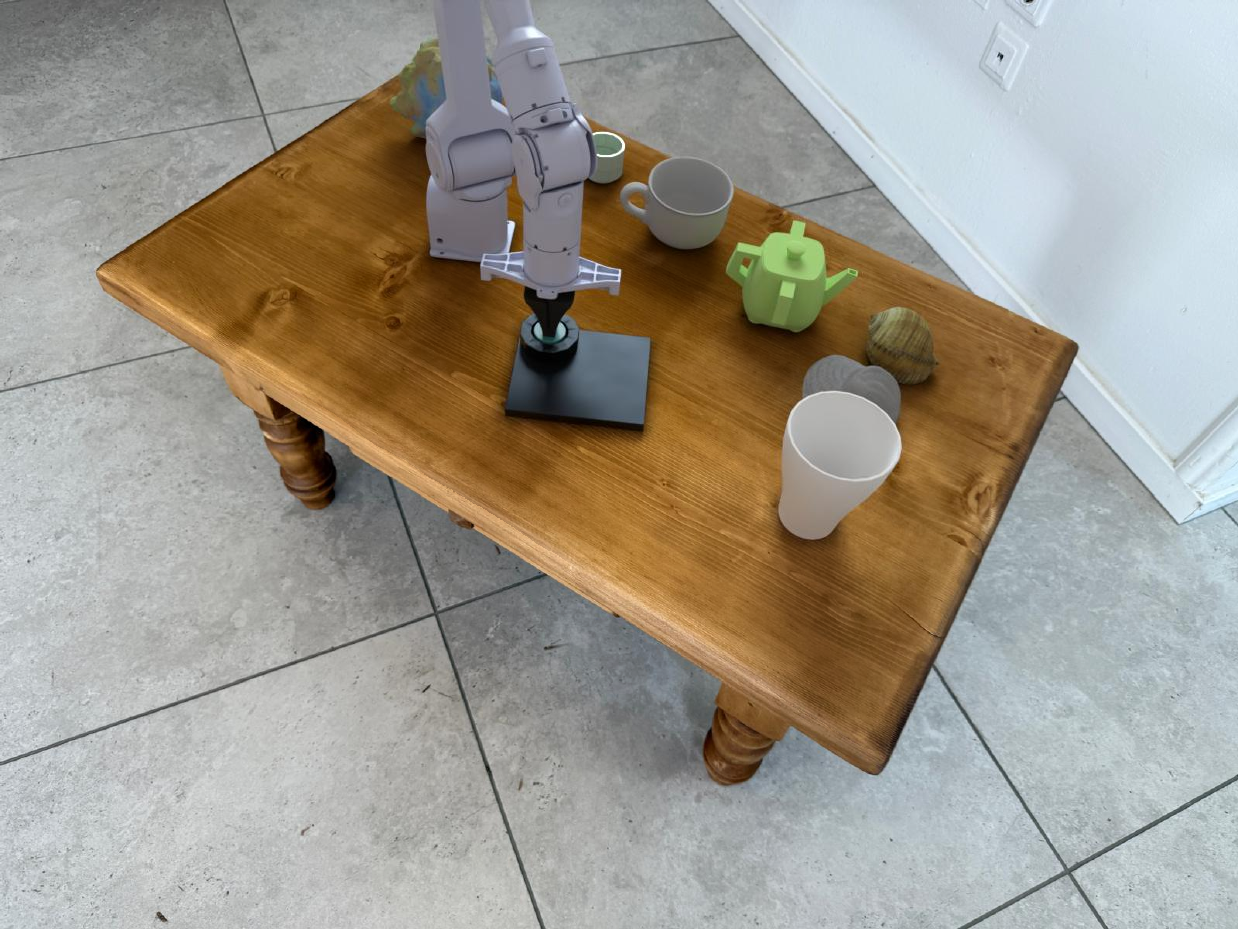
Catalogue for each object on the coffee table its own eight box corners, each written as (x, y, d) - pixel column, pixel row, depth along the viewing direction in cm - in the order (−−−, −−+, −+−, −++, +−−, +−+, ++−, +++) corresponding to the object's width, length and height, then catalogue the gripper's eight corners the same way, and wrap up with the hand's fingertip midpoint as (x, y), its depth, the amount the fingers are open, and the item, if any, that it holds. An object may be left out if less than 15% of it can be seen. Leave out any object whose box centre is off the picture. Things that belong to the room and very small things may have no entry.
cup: (831, 465, 95) (870, 382, 84) (875, 547, 89) (922, 469, 78) (741, 483, 92) (769, 400, 82) (779, 569, 87) (815, 492, 76)
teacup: (724, 213, 119) (735, 161, 112) (722, 267, 112) (733, 215, 106) (621, 200, 119) (626, 147, 112) (613, 253, 112) (618, 201, 106)
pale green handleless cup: (579, 183, 120) (581, 154, 116) (583, 158, 123) (585, 129, 120) (620, 188, 120) (623, 159, 116) (623, 162, 123) (626, 134, 120)
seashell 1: (795, 372, 102) (788, 429, 95) (815, 336, 98) (810, 392, 91) (888, 406, 103) (888, 465, 96) (912, 372, 99) (914, 431, 92)
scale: (504, 416, 95) (504, 398, 93) (523, 325, 103) (522, 307, 101) (643, 431, 96) (645, 414, 93) (650, 340, 104) (653, 321, 101)
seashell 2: (914, 391, 108) (953, 334, 105) (921, 400, 101) (963, 339, 99) (845, 350, 108) (882, 293, 106) (847, 356, 102) (887, 295, 99)
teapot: (769, 355, 104) (789, 293, 96) (711, 295, 109) (726, 232, 101) (843, 322, 108) (868, 260, 100) (785, 265, 113) (804, 202, 105)
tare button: (531, 350, 99) (531, 339, 98) (535, 328, 101) (536, 317, 100) (563, 354, 99) (563, 343, 98) (567, 331, 102) (567, 320, 100)
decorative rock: (467, 59, 107) (498, 5, 117) (352, 76, 112) (390, 23, 121) (503, 162, 118) (528, 104, 127) (396, 174, 122) (428, 117, 131)
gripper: (472, 251, 86) (479, 349, 97) (621, 268, 86) (611, 363, 97) (484, 206, 90) (489, 304, 101) (626, 222, 90) (616, 318, 101)
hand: (549, 330), depth 99 cm, fingers closed, pressing on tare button
